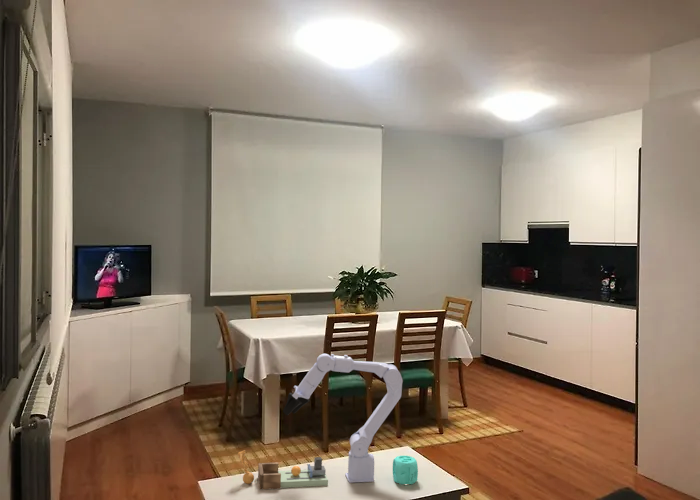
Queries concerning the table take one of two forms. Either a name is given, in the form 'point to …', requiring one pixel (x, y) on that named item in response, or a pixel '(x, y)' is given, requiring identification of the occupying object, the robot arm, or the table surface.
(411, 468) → the decorative dice
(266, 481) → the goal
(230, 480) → the table surface
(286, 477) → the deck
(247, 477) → the figurine
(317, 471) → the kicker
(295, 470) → the ball
